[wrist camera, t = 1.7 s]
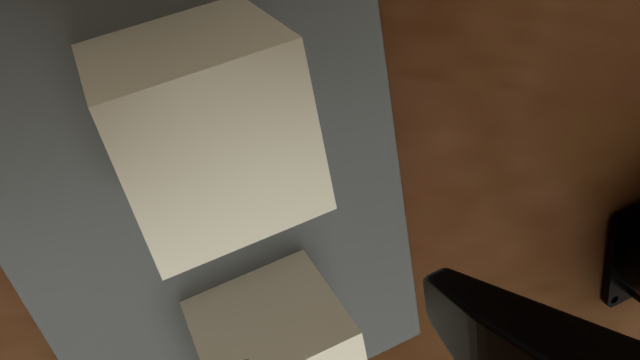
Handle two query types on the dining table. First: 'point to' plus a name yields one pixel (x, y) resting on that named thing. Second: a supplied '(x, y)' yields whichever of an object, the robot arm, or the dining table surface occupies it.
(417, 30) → the dining table surface
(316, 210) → the plain block
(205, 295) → the block one
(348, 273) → the mat
